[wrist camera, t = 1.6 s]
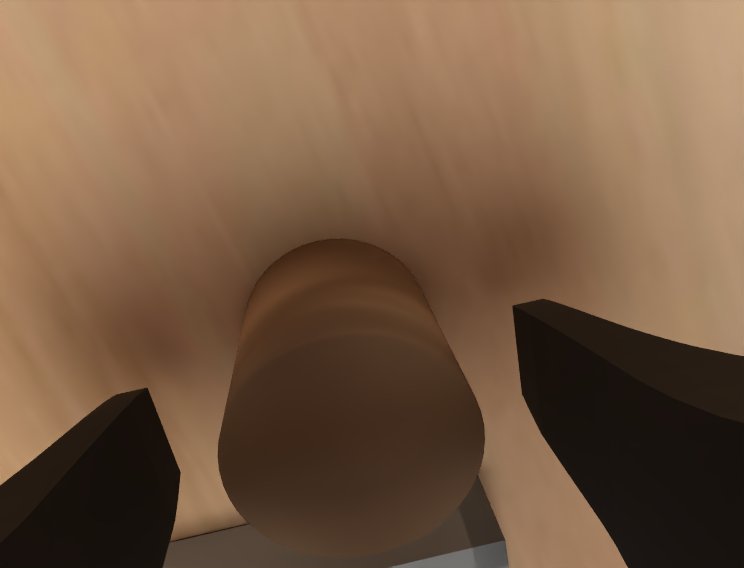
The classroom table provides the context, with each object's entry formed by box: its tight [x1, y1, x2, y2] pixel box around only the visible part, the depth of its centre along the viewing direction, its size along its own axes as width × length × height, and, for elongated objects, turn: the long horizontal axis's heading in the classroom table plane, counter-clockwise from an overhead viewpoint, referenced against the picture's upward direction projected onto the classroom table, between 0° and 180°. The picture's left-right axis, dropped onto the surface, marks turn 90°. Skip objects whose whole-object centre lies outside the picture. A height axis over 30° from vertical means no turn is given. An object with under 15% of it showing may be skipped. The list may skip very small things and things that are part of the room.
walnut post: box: [218, 239, 485, 558], centre depth 12 cm, size 4×4×5 cm
